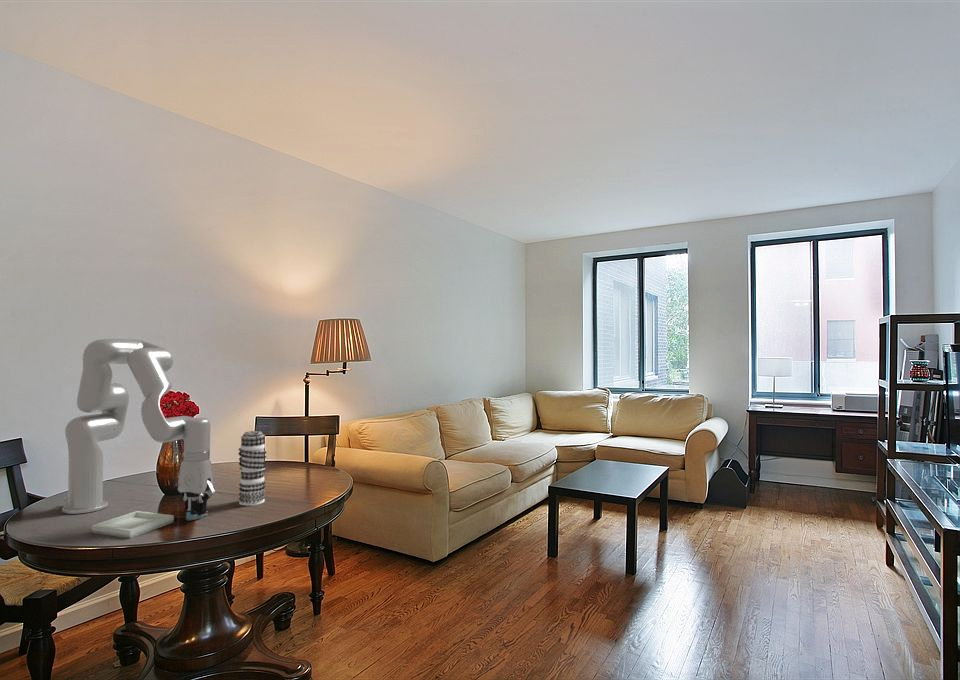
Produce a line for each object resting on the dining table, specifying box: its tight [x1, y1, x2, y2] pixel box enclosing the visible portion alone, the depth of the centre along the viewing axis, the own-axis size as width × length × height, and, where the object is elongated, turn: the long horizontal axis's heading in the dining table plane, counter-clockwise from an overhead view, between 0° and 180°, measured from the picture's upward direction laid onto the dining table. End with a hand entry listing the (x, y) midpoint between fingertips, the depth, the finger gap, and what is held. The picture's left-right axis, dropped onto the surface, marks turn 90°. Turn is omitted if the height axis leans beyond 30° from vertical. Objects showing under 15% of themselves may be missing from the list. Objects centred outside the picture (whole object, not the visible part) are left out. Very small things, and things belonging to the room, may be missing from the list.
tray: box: [91, 510, 175, 539], centre depth 166 cm, size 15×15×2 cm
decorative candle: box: [238, 430, 267, 507], centre depth 193 cm, size 9×9×25 cm
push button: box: [184, 492, 209, 522], centre depth 175 cm, size 7×5×10 cm
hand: (195, 512), depth 175 cm, fingers open, 4 cm apart
